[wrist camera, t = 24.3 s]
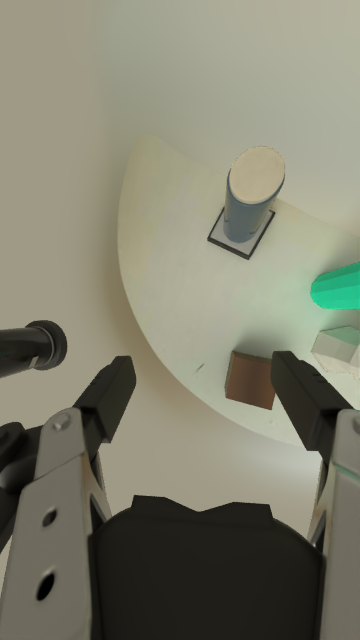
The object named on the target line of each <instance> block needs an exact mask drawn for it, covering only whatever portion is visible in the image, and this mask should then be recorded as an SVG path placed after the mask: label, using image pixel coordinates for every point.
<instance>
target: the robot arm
mask: <svg viewBox="0 0 360 640" xmlns="http://www.w3.org/2000/svg"><path fill="white" fill-rule="evenodd" d="M55 352H56V344H55V340H54V337H53V335H52V334H51V333H50V331H49V330H47V329H46V328H44V327H41V326H33V327H28V328H16V329H5V330H0V378H3V377H6V376H10V375H13V374H16V373H19V372H22V371H25V370H28V369H32V368H35V367H38V366H43V365H46V364H48V363H49V362H51V360H52V359H53V358H54V355H55ZM270 380H271V384H272V386H273V388H274V390H275V392H276V394H277V396H278V398H279V400H280V401H281V403H282V405H283V407H284V409H285V411H286V413H287V414H288V416H289V418H290V420H291V422H292V424H293V426H294V428H295V429H296V431H297V433H298V435H299V437H300V439H301V441H302V443H303V444H304V446H305V448H306V450H307V451H319V453H320V455H321V456H322V461H321V466H320V472H319V478H318V485H317V491H316V498H315V504H314V510H313V515H312V519H311V523H310V527H309V532H308V536H307V540H306V539H305V538H304V537H303V536H302V535H300V534H299V533H298V532H296V531H295V530H294V529H292V528H291V527H289V526H288V525H286V524H284V523H283V522H280V521H279V520H277V519H275V518H273V516H272V512H271V509H270V505H269V504H256V503H242V502H232V503H228V504H225V505H222V506H218V507H215V508H212V509H208V510H205V511H201V512H197V511H194V510H192V509H190V508H188V507H186V506H183V505H181V504H179V503H176V502H175V501H172V500H170V499H168V498H166V497H155V496H139V495H134V498H133V501H132V505H131V507H130V508H127V509H125V510H123V511H121V512H119V513H117V514H116V515H114V516H113V517H112V514H111V510H110V507H109V504H108V501H107V497H106V492H105V486H104V480H103V474H102V469H101V463H100V457H99V452H98V449H99V446H100V445H101V443H111V441H112V438H113V436H114V434H115V432H116V429H117V427H118V425H119V423H120V420H121V418H122V416H123V414H124V411H125V409H126V407H127V404H128V402H129V400H130V398H131V395H132V393H133V391H134V389H135V386H136V374H135V371H134V366H133V362H132V359H131V357H130V356H117V357H115V359H114V360H113V361H112V363H111V364H110V365H107V366H106V367H105V368H103V369H102V370H100V371H99V373H98V374H97V376H96V377H95V379H93V380H92V382H91V383H90V385H89V386H88V387H87V388H86V389H85V391H84V392H83V393H82V395H81V396H80V397H79V398H78V400H77V401H76V402H75V404H74V405H73V406H72V407H71V408H67V409H64V410H61V411H59V412H58V413H56V414H55V415H53V416H52V417H51V418H50V419H49V420H48V421H47V422H46V423H45V424H44V425H42V426H38V427H34V428H31V429H27V430H25V429H24V427H23V426H22V424H21V423H19V422H11V423H8V424H5V425H3V426H1V427H0V554H1V552H2V550H3V549H4V547H5V545H6V544H7V542H8V540H9V539H10V537H11V535H12V534H13V536H12V542H11V546H10V551H9V556H8V562H7V567H6V572H5V577H4V583H3V588H2V593H1V598H0V640H360V411H359V410H355V409H354V408H353V407H352V406H351V405H350V404H349V403H348V402H347V401H346V400H345V399H344V398H343V397H342V396H341V395H340V393H339V392H338V391H337V390H336V389H335V388H334V387H333V386H332V385H331V384H330V383H328V382H327V380H326V379H325V378H324V377H323V376H321V374H320V373H319V372H318V371H317V370H316V369H315V368H314V367H313V366H312V365H310V364H308V363H307V362H305V361H303V360H298V358H297V357H296V356H295V355H294V354H293V353H292V352H291V351H274V352H273V355H272V363H271V371H270Z"/></svg>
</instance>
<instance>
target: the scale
mask: <svg viewBox="0 0 360 640" xmlns="http://www.w3.org/2000/svg"><path fill="white" fill-rule="evenodd" d="M224 209H225V206H224V208H223V210H222V212H221V213H220V215H219V217H218V219H217V221H216V223H215V225H214V227H213V229H212V231H211V232H210V234H209V236H208V238H207V239H208V241H210V242H212V243H214V244H216V245H218V246H220V247H222V248H224V249H226V250H228V251H231V252H233V253H235V254H237V255H239V256H241V257H243V258H245V259H247V260H249V258H250V257H251V255H252V253H253V251H254V250H255V248H256V246H257V244H258V243H259V241H260V239H261V237H262V236H263V234H264V232H265V231H266V229H267V227H268V225H269V224H270V222H271V220H272V218H273V217H274V215H275V212H273V211H270V210H269V212H268V213H267V215H266V217H265V219H264V221H263V223H262V225H261V226H260V228H259V230H258V232H257V234H256V235H255V236H254V237H253V238H252V239H251V240H249V241H247V242H244V243H235V242H232V241H230V240H229V239H228V238H227V237H226V236H225V234H224V231H223V220H224Z"/></svg>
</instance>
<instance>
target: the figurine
mask: <svg viewBox="0 0 360 640" xmlns="http://www.w3.org/2000/svg"><path fill="white" fill-rule="evenodd" d="M311 353H312V354H313V355H314V357H315V358H316V359H317V360H318V362H319V363H320V364H321V365H322V366H323V368H324V369H325V370H326V371H327V372H342V373H350V374H352V375H353V377H354V379H360V332H359V331H357V330H356V329H354V328H353V327H351V326H347V327H342V328H336V329H331V330H326V331H320V332H319V334H318V337H317V339H316V341H315V344H314V346H313V348H312V351H311Z"/></svg>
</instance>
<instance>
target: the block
mask: <svg viewBox="0 0 360 640" xmlns="http://www.w3.org/2000/svg"><path fill="white" fill-rule="evenodd" d="M271 363H272V360H271V359H267V358H262V357H258V356H253V355H249V354H244V353H239V352H235V351H232V354H231V359H230V363H229V368H228V373H227V378H226V382H225V396H226V398H228V399H232V400H235V401H239V402H243V403H246V404H250V405H254V406H257V407H261V408H265V409H268V410H272V406H273V401H274V397H275V393H276V392H275V390H274V388H273V386H272V384H271V380H270V371H271Z"/></svg>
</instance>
